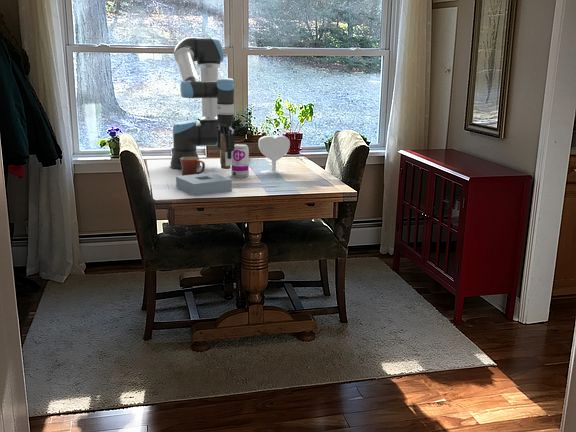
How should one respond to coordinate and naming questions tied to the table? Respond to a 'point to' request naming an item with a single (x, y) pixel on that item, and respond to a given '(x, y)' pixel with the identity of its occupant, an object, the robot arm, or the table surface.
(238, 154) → the supplement can
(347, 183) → the table surface
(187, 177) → the socket block
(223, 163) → the walnut peg
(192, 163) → the mug
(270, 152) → the heart sculpture
